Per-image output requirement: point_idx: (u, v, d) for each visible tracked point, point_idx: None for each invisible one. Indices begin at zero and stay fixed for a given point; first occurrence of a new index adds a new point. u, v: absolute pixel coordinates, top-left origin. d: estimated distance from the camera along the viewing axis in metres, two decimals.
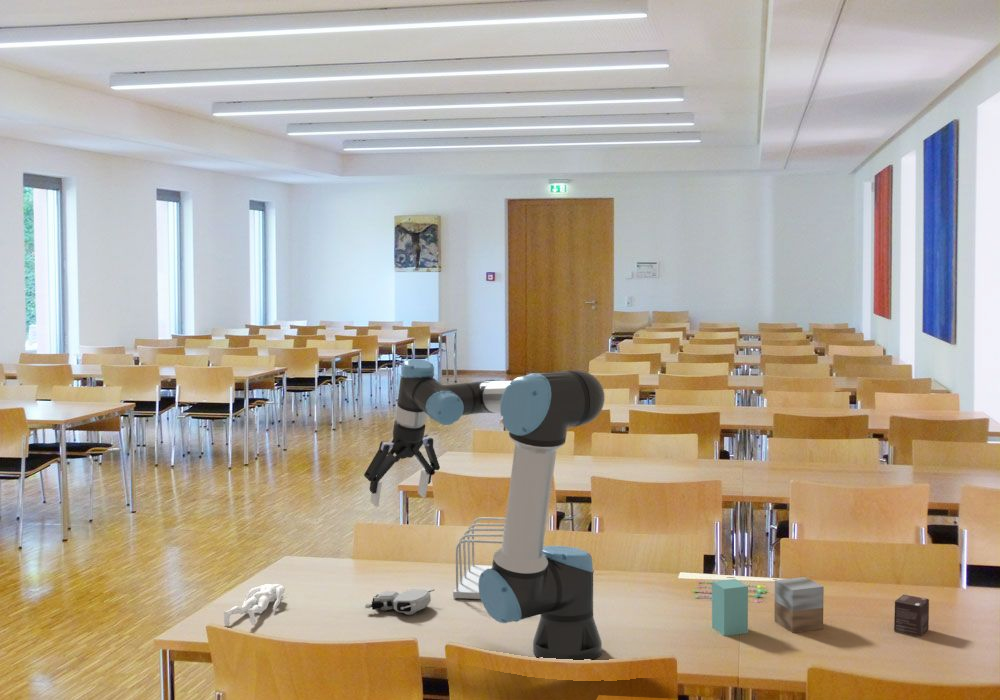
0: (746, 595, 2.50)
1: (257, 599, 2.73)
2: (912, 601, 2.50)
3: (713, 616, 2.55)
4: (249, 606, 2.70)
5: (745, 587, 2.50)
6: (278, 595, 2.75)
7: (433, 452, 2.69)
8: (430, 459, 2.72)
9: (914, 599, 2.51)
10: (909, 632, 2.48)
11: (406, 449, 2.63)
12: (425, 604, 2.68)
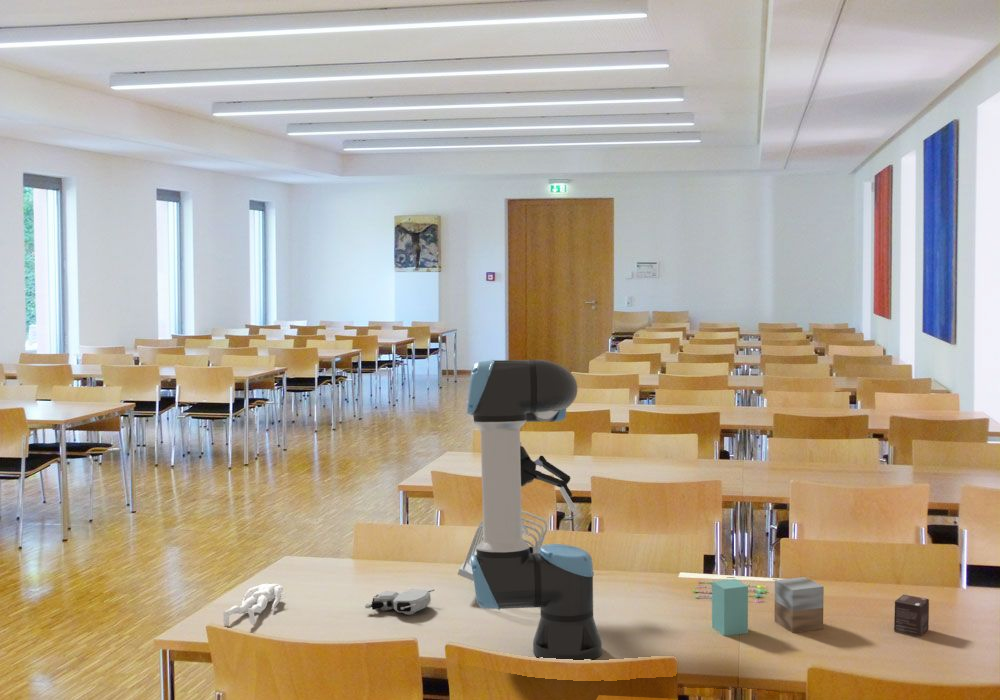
0: (746, 595, 2.50)
1: (256, 599, 2.73)
2: (912, 601, 2.50)
3: (713, 616, 2.55)
4: (248, 606, 2.70)
5: (745, 587, 2.50)
6: (277, 595, 2.75)
7: (552, 466, 2.82)
8: (558, 475, 2.83)
9: (914, 599, 2.51)
10: (909, 632, 2.48)
11: None
12: (425, 604, 2.68)
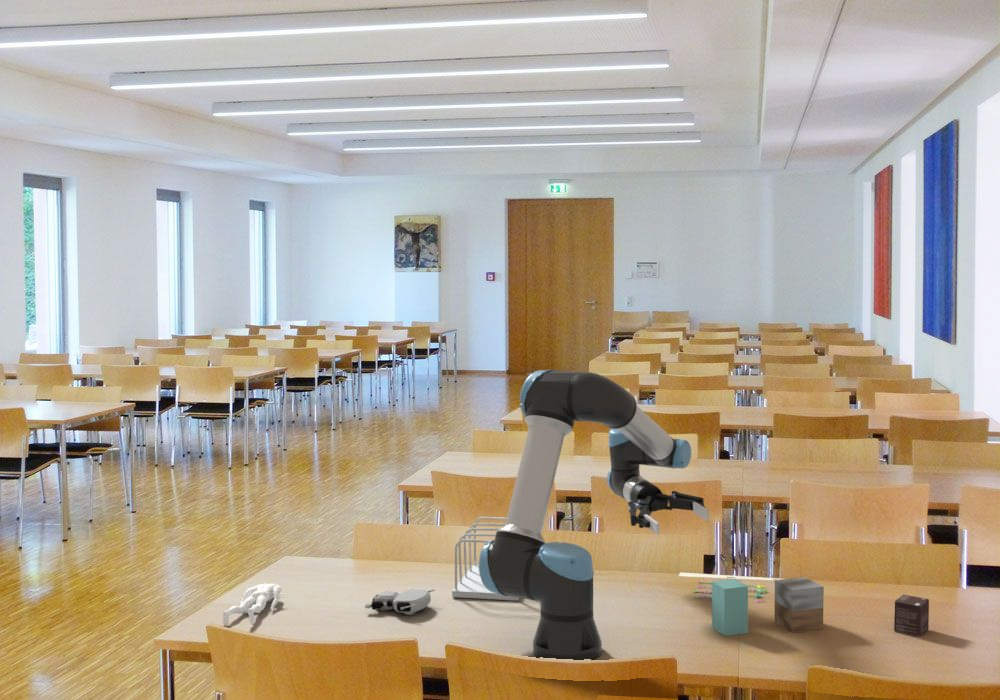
0: (746, 595, 2.50)
1: (255, 599, 2.73)
2: (912, 600, 2.50)
3: (713, 616, 2.55)
4: (247, 606, 2.70)
5: (745, 587, 2.50)
6: (275, 594, 2.75)
7: (684, 494, 2.78)
8: None
9: (914, 599, 2.51)
10: (909, 632, 2.48)
11: (649, 496, 2.78)
12: (425, 604, 2.68)
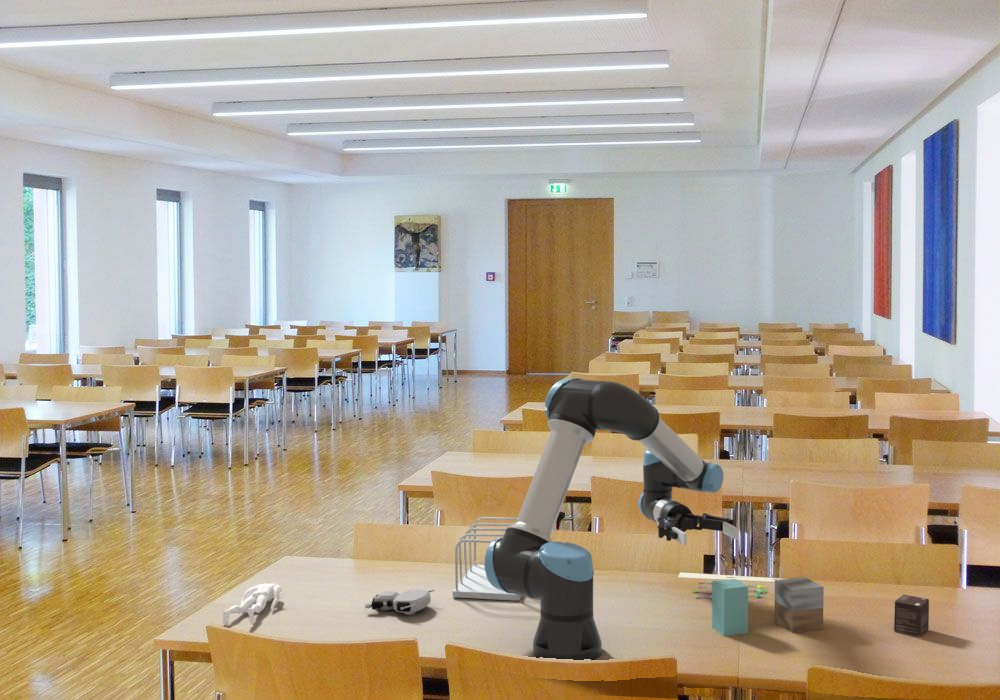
0: (746, 595, 2.50)
1: (255, 598, 2.73)
2: (912, 601, 2.50)
3: (713, 616, 2.55)
4: (247, 605, 2.71)
5: (745, 587, 2.50)
6: (276, 594, 2.75)
7: (715, 516, 2.75)
8: None
9: (914, 599, 2.51)
10: (909, 632, 2.48)
11: (679, 514, 2.75)
12: (425, 604, 2.68)
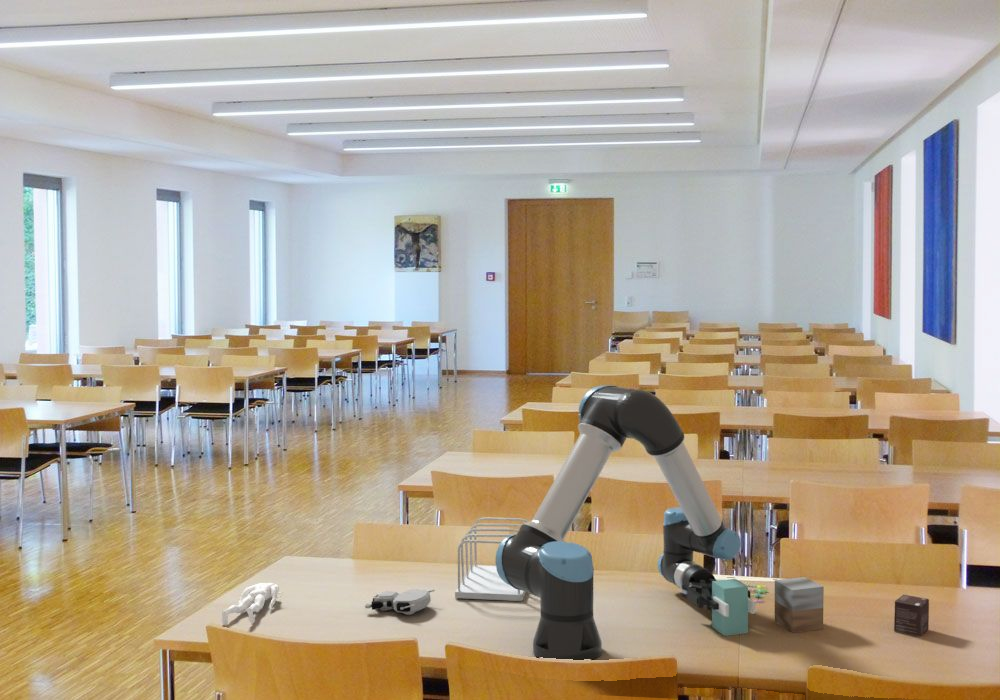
0: (746, 595, 2.50)
1: (253, 598, 2.74)
2: (912, 601, 2.50)
3: (713, 616, 2.55)
4: (245, 605, 2.71)
5: (745, 587, 2.50)
6: (274, 594, 2.76)
7: None
8: None
9: (914, 599, 2.51)
10: (909, 632, 2.48)
11: (702, 580, 2.64)
12: (425, 604, 2.68)
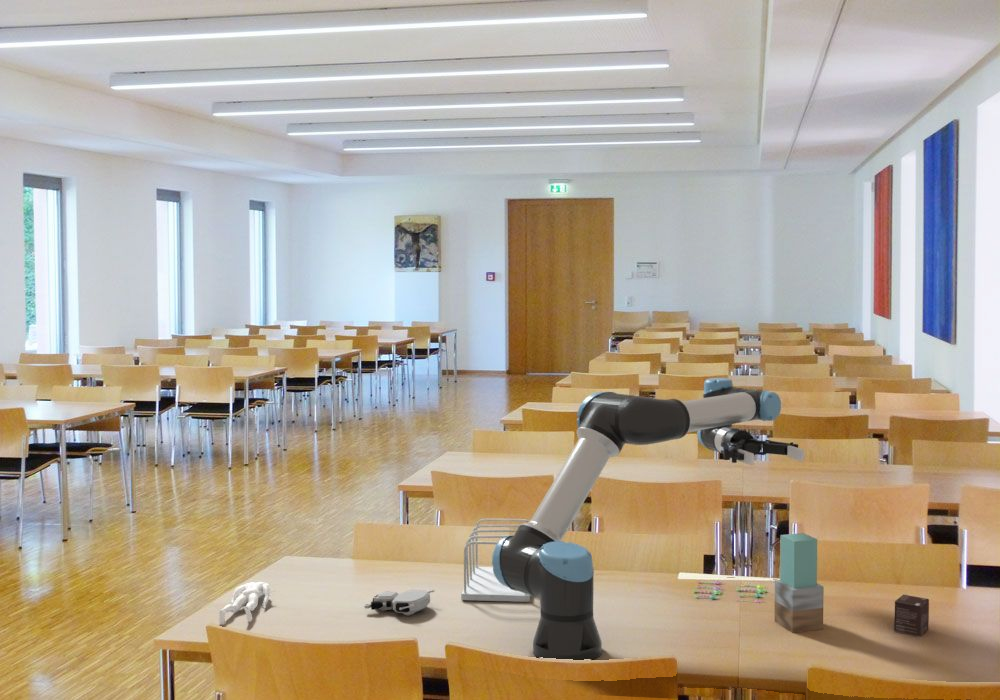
0: (815, 548, 2.52)
1: (246, 597, 2.75)
2: (912, 601, 2.50)
3: (781, 570, 2.56)
4: (240, 604, 2.72)
5: (814, 540, 2.52)
6: (266, 592, 2.77)
7: (778, 442, 2.76)
8: None
9: (914, 599, 2.51)
10: (909, 632, 2.48)
11: (742, 439, 2.76)
12: (424, 605, 2.68)
